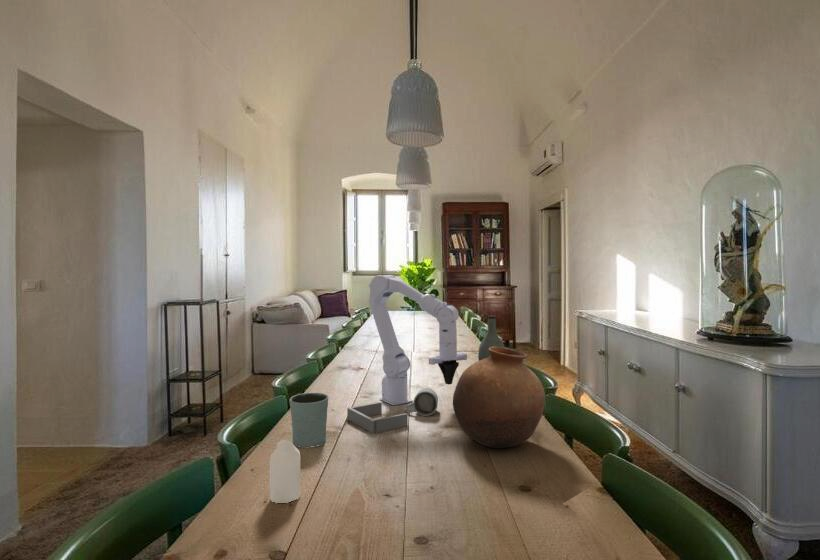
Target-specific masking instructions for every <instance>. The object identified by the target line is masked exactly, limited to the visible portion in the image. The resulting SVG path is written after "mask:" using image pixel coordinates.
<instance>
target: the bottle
mask: <svg viewBox="0 0 820 560" xmlns="http://www.w3.org/2000/svg"><path fill="white" fill-rule="evenodd" d="M496 318H497V316H496V315H493V314H491V315H490V314H489V315H487V333H486V334H485V336H484V337H483V339H482V340H481V342H480V344H479V346H478V353H477V357H478V361H480V360H483V359H485V358H488V357H490V356H491V353H490V352H489V350H488V349H489V348H490V347H502V348H506V347H505V344H504V342H503V341H502V340H501V338H500V336H499V335H498V332H497V330H496V329H497V326H496V325H497V323H496V321H497V319H496Z"/></svg>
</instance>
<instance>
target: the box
mask: <svg viewBox="0 0 820 560" xmlns="http://www.w3.org/2000/svg"><path fill="white" fill-rule="evenodd" d="M382 404H383V403H382V402H381V401H377V402H371V403H367V404H362V405H361V404H360V405H356V406H350V407H347V416H346V417H347V420H348V421H349V422H351V421H352V423H353V424H355V425H358V427H361V428H363V429H364V430H365V431H368V432H370V433H371V434H378V433H382V432H386V431H387V432H388V431H391V430H396V429H400V428H406V427H408V425H409V423H408V421H409V420H408V419H409V417H408V414H409V413H406V412H405V413H400V414H395V415H390V416H385V417H382V418H381V417H379V418H375V419H374V418H372V416H376V415H380V414H381V415H382V412H383V411H382V409H383V408H382ZM370 416H371V417H370Z"/></svg>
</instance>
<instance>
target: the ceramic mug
mask: <svg viewBox="0 0 820 560" xmlns="http://www.w3.org/2000/svg"><path fill="white" fill-rule="evenodd" d="M438 403H439V397H438V394H437V393H436V391H434V389H432V388H428V387H425V388H421V389H420V390H419V391H417V393H416V394H415V396H414V398H413V402H412V403H411V402H410V404H408V405H406V406H405V407H404V411H405V413H406V414H409V413H412V412H416V414H418V415H419V416H423V417H429V416H432V415H433V414H434V413H435V412H436V411H437V408H438Z"/></svg>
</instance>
